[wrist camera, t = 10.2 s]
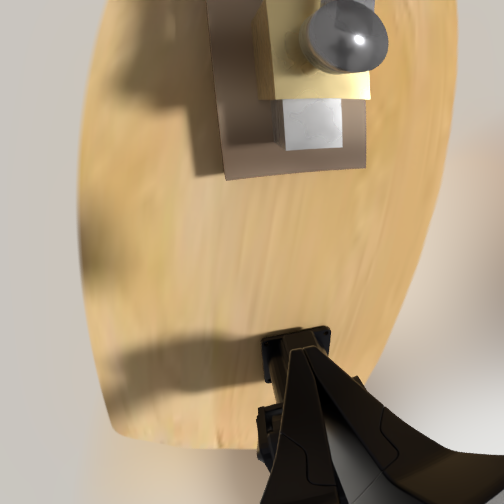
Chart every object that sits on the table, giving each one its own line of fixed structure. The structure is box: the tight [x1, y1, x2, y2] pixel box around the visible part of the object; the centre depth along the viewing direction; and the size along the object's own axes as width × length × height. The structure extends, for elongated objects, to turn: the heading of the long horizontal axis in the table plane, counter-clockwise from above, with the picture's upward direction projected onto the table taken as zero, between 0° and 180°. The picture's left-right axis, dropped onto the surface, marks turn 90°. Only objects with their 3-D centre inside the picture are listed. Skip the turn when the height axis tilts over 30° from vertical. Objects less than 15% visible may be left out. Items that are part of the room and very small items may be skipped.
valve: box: [251, 0, 370, 151], centre depth 12 cm, size 10×4×6 cm, turn 5°
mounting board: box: [206, 0, 366, 181], centre depth 15 cm, size 14×9×2 cm, turn 5°
